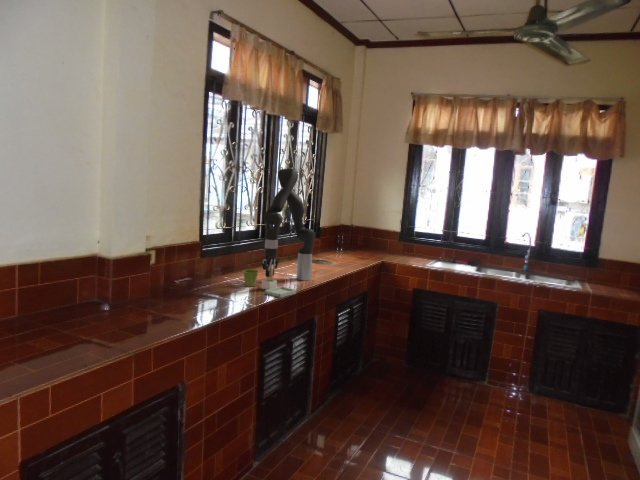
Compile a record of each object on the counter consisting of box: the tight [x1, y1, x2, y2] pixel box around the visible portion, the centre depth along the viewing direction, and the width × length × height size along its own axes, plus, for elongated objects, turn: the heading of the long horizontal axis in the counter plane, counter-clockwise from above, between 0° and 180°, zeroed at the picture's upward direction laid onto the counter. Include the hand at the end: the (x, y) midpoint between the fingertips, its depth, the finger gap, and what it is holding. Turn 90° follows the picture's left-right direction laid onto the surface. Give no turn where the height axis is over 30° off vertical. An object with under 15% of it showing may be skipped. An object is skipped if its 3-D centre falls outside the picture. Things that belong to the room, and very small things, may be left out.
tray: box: [264, 285, 298, 299], centre depth 262 cm, size 15×11×2 cm
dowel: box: [266, 264, 274, 282], centre depth 270 cm, size 3×3×14 cm
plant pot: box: [242, 269, 259, 287], centre depth 276 cm, size 9×9×9 cm
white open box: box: [261, 278, 278, 291], centre depth 270 cm, size 6×6×5 cm
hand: (269, 276), depth 270 cm, fingers closed on dowel, 3 cm apart
